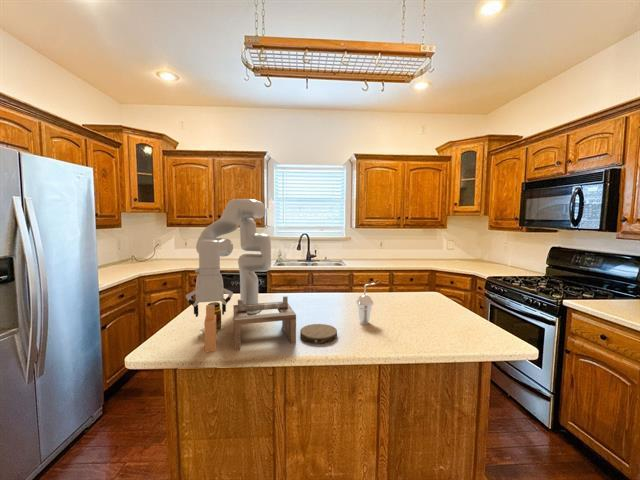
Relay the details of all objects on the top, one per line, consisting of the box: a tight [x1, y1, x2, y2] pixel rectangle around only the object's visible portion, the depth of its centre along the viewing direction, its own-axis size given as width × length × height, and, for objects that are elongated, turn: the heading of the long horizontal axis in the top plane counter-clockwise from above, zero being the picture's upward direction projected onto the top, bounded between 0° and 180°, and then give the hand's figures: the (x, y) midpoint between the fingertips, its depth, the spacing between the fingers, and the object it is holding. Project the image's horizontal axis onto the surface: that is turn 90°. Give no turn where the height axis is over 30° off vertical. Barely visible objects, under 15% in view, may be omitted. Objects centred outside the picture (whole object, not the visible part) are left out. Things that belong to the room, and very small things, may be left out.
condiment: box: [200, 301, 225, 333], centre depth 136 cm, size 7×8×12 cm
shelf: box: [232, 295, 297, 351], centre depth 127 cm, size 20×24×17 cm
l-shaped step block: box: [203, 304, 218, 353], centre depth 117 cm, size 8×4×16 cm, turn 18°
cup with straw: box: [355, 282, 377, 325], centre depth 146 cm, size 8×9×20 cm
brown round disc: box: [299, 323, 338, 345], centre depth 129 cm, size 16×16×3 cm
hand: (210, 314), depth 116 cm, fingers open, 9 cm apart
